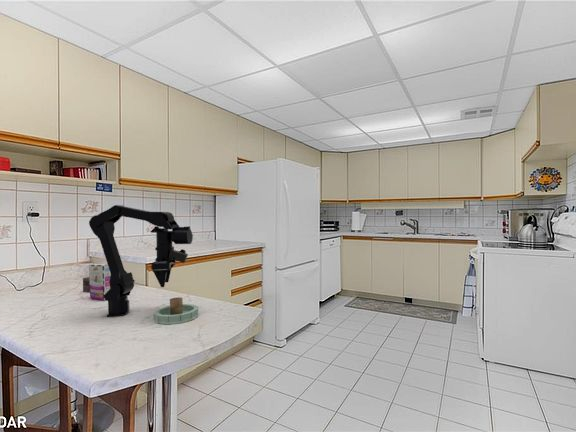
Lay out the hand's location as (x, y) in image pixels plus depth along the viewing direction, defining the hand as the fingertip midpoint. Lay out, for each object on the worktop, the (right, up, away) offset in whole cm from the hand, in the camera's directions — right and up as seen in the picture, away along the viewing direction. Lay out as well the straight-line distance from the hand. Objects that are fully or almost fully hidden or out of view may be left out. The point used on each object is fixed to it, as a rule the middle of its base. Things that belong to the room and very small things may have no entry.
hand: (164, 284), depth 123 cm
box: (-56, -13, +45) cm, 73 cm away
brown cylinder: (+7, -10, -6) cm, 13 cm away
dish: (+7, -11, -6) cm, 14 cm away
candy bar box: (-40, -13, +27) cm, 50 cm away
